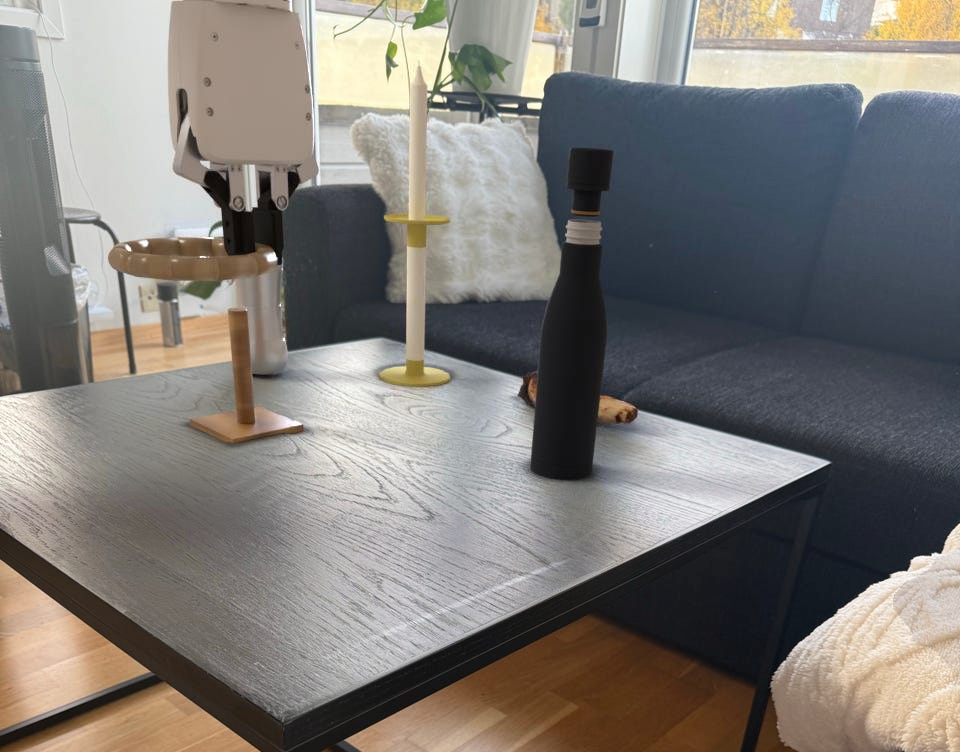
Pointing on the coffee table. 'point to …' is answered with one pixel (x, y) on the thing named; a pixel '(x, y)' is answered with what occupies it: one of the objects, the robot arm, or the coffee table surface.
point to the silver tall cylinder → (264, 321)
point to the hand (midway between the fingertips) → (255, 262)
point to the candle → (416, 249)
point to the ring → (189, 259)
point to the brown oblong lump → (608, 407)
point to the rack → (243, 395)
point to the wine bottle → (573, 333)
